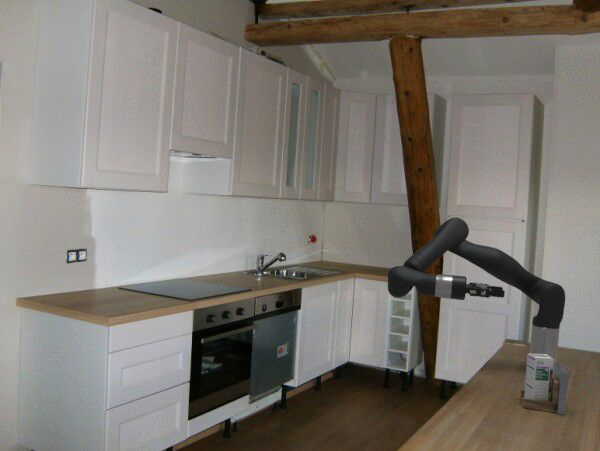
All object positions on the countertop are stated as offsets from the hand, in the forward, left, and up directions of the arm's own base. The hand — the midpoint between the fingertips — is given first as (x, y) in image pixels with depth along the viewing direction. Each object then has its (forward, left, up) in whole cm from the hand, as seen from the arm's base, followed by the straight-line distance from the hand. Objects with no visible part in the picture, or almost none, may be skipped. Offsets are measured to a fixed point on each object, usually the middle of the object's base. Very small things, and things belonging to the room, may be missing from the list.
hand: (503, 292), depth 201 cm
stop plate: (+7, +18, -32) cm, 37 cm away
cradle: (+7, +12, -32) cm, 35 cm away
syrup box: (+7, +12, -32) cm, 34 cm away
